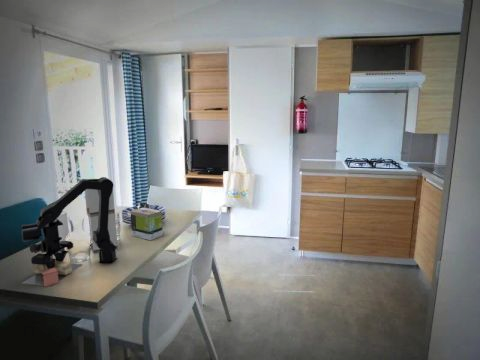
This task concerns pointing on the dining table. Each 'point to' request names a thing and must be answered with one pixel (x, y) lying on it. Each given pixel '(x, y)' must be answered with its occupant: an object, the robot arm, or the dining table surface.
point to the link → (60, 266)
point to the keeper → (50, 276)
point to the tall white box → (93, 212)
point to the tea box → (146, 223)
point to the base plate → (39, 279)
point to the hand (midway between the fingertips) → (55, 270)
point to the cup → (63, 228)
